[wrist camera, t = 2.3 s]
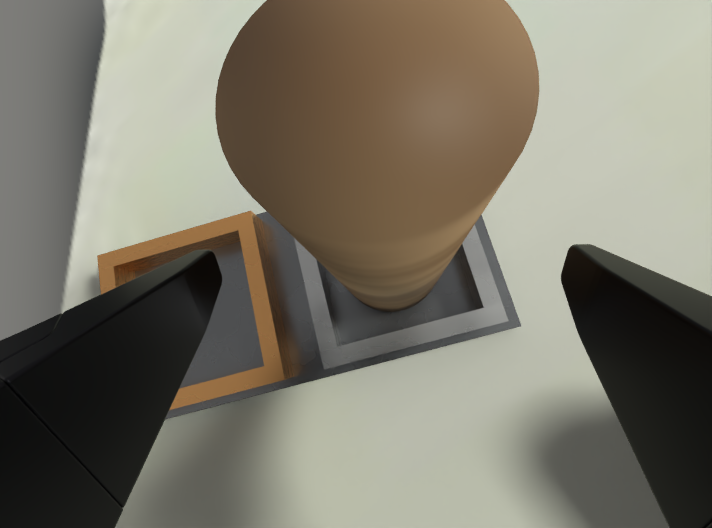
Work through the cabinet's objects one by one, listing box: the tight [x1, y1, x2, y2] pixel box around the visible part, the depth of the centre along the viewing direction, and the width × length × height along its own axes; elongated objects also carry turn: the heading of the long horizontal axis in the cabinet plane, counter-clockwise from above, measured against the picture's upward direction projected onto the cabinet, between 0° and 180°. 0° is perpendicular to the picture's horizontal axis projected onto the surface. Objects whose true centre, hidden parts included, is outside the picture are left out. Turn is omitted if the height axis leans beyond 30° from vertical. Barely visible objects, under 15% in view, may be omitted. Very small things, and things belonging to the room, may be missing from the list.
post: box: [216, 0, 539, 312], centre depth 12 cm, size 5×5×13 cm
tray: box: [97, 211, 521, 419], centre depth 18 cm, size 20×9×2 cm, turn 105°
